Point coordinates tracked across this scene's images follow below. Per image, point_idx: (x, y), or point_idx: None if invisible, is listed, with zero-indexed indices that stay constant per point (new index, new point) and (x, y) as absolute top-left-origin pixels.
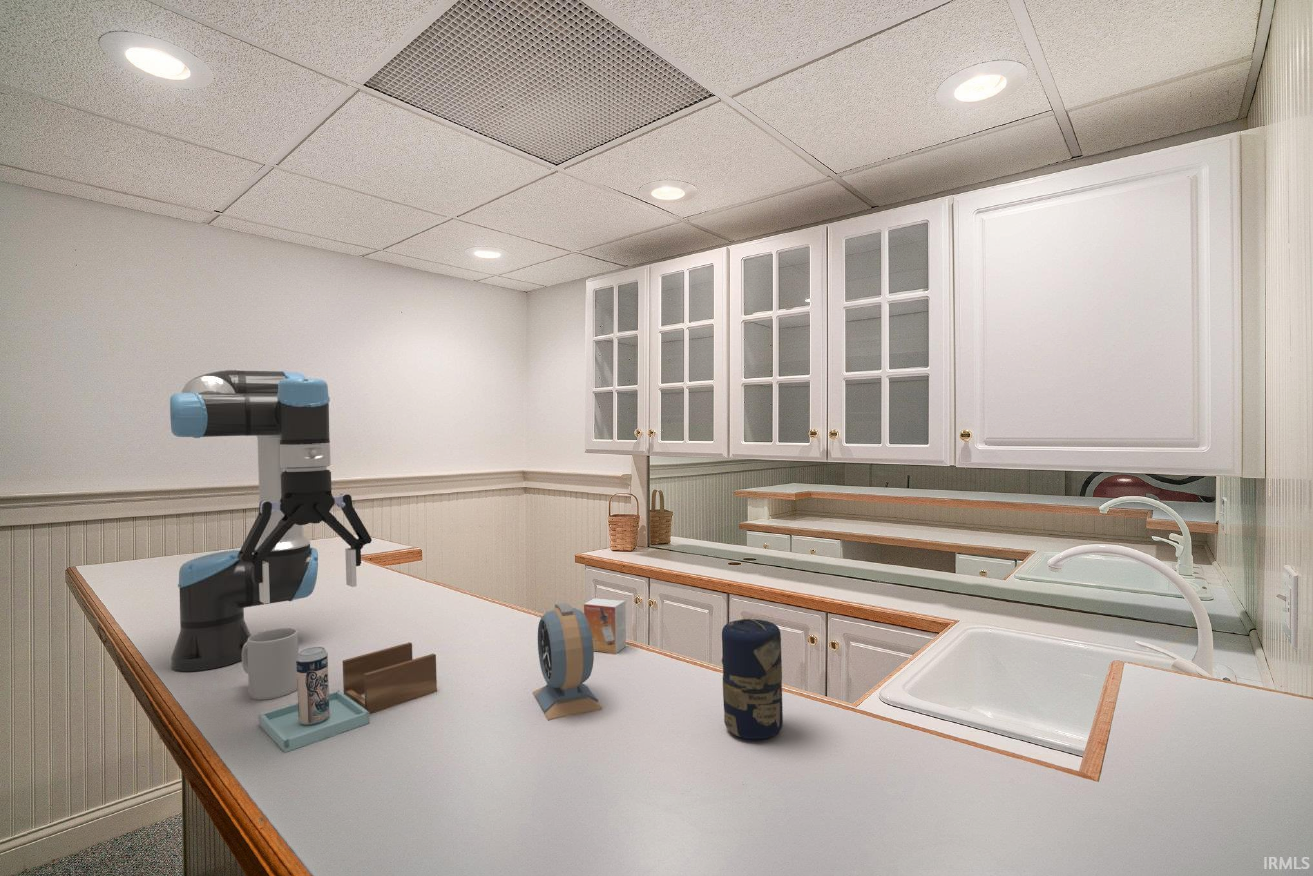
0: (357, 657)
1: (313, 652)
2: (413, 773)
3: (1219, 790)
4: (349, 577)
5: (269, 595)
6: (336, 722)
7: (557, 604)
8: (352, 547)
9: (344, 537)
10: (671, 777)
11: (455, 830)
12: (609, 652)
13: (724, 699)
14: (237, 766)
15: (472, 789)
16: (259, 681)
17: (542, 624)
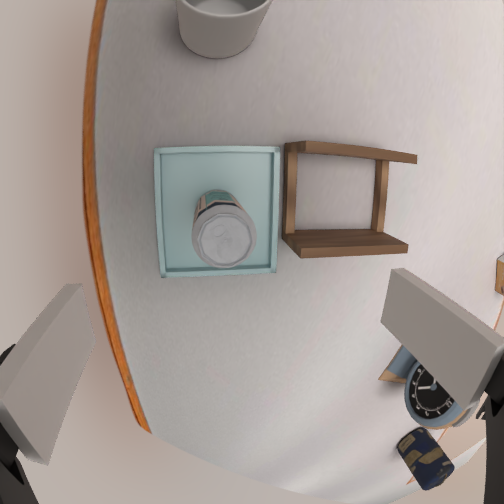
0: (331, 149)
1: (225, 252)
2: (251, 395)
3: (409, 490)
4: (403, 315)
5: (88, 357)
6: (230, 271)
7: (469, 412)
8: (496, 380)
9: (489, 461)
10: (349, 458)
11: (237, 452)
12: (496, 285)
13: (412, 450)
14: (112, 264)
15: (270, 430)
16: (186, 36)
17: None
